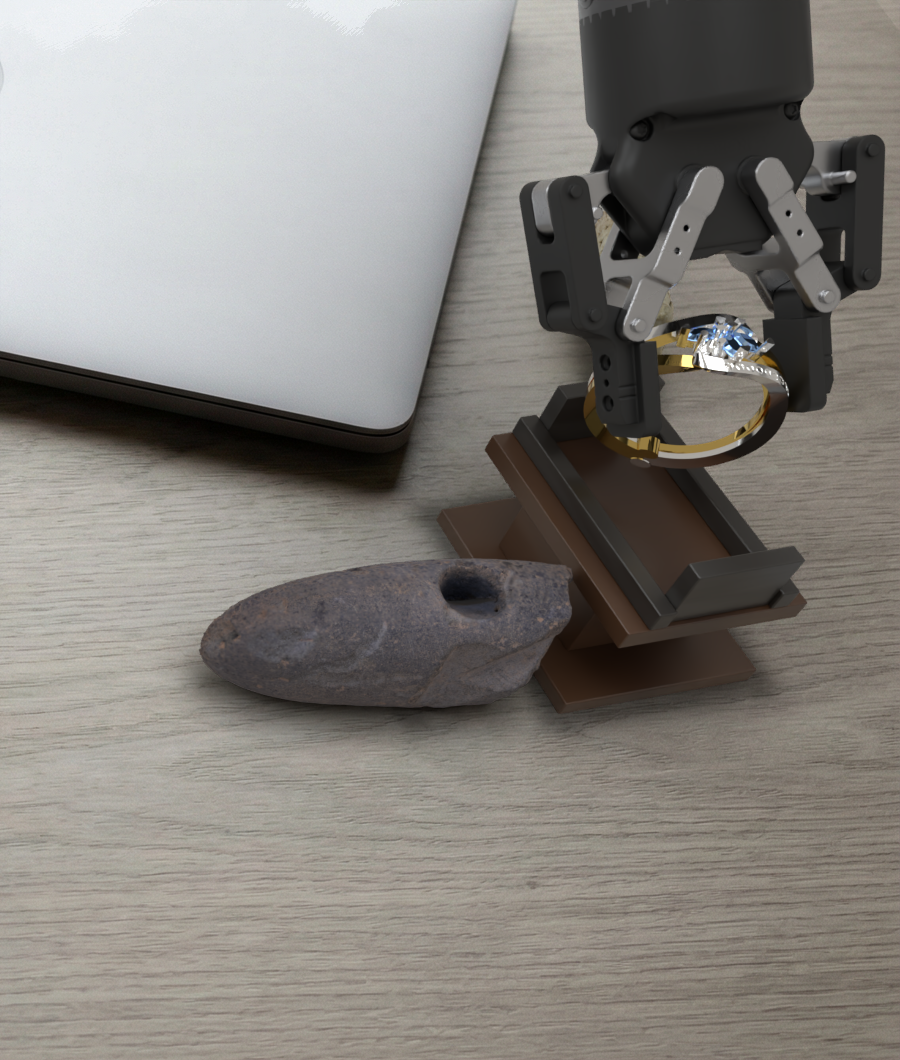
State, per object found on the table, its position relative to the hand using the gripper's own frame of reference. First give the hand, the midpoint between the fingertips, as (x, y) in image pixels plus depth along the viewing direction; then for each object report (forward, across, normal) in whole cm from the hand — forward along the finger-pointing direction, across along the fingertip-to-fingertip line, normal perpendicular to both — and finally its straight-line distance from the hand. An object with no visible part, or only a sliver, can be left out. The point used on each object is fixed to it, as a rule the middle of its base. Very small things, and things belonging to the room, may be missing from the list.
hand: (716, 422), depth 67 cm
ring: (+2, 0, +5) cm, 5 cm away
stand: (+8, 0, +9) cm, 12 cm away
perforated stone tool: (+10, -12, +7) cm, 17 cm away
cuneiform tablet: (-3, +11, +20) cm, 23 cm away
